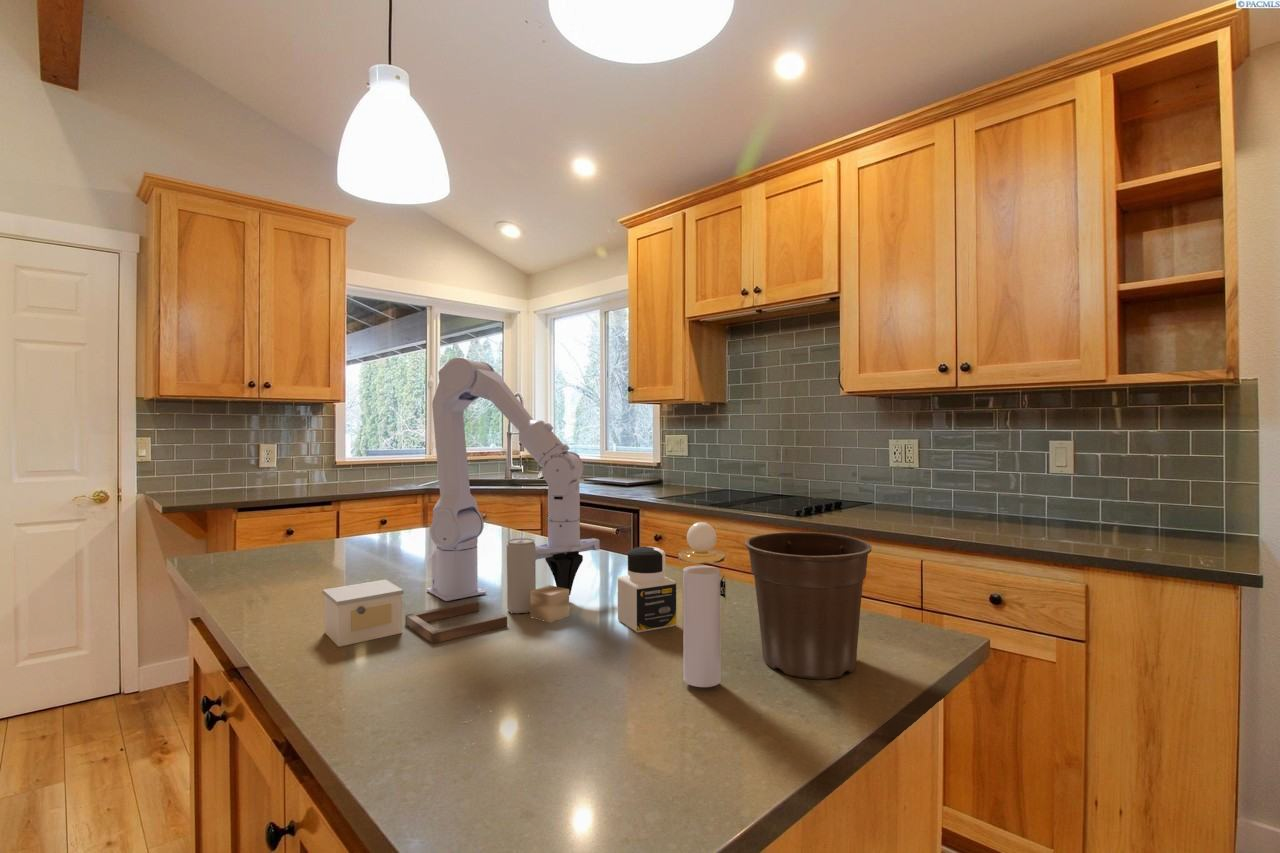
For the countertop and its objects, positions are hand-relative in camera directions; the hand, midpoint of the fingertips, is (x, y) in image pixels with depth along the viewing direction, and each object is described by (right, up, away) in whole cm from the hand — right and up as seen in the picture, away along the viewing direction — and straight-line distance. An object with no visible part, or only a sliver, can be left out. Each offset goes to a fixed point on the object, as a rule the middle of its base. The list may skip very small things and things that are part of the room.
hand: (564, 594), depth 111 cm
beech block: (-1, -1, -9) cm, 9 cm away
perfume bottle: (+21, -2, -36) cm, 42 cm away
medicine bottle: (+15, -1, -12) cm, 19 cm away
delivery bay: (-16, -1, -13) cm, 21 cm away
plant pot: (+36, -1, -28) cm, 46 cm away
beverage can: (-7, -1, -6) cm, 9 cm away
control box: (-29, -1, -17) cm, 33 cm away
